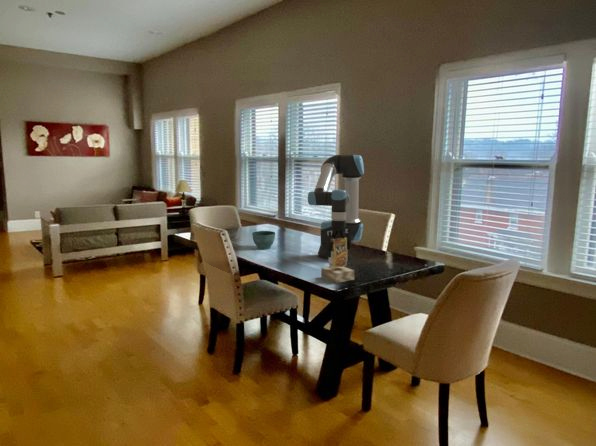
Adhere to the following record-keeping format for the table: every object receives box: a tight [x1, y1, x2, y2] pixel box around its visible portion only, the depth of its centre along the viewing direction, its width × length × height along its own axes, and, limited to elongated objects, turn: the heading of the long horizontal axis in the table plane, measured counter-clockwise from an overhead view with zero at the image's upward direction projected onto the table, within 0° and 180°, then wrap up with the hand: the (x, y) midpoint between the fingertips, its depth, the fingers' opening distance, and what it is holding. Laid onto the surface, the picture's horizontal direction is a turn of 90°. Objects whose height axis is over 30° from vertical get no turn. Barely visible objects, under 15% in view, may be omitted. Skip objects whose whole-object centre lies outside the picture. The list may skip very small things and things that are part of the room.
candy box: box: [328, 237, 348, 268], centre depth 228 cm, size 9×4×15 cm, turn 125°
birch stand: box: [320, 266, 356, 284], centre depth 230 cm, size 12×13×5 cm
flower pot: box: [251, 230, 276, 250], centre depth 304 cm, size 16×16×11 cm
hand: (337, 261), depth 229 cm, fingers closed on candy box, 9 cm apart
